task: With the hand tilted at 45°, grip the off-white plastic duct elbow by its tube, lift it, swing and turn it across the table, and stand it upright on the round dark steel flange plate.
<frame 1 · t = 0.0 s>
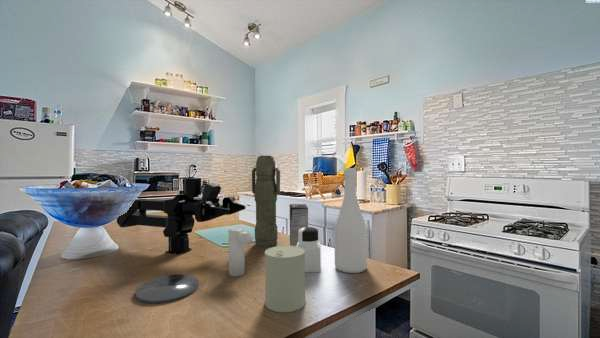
hand: (237, 209, 93), 17 cm above the table, tool horizontal, fingers open, 9 cm apart
flange plate: (168, 289, 70), on the table
medicine bottle: (308, 268, 84), on the table
can: (285, 303, 63), on the table
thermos: (266, 245, 111), on the table
wine bottle: (350, 268, 84), on the table
coffee box: (298, 249, 105), on the table
duct elbow: (236, 273, 80), on the table
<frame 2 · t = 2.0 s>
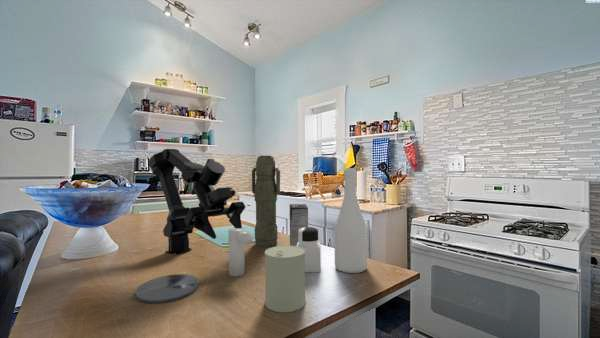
hand: (228, 234, 83), 11 cm above the table, tool tilted 45°, fingers open, 9 cm apart
nothing on the table moved.
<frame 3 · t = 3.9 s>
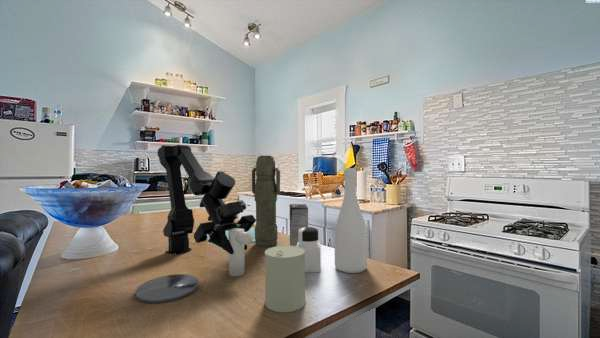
hand: (239, 251, 79), 7 cm above the table, tool tilted 45°, fingers closed on duct elbow, 4 cm apart
duct elbow: (236, 273, 80), on the table, touching gripper
everything else where it was.
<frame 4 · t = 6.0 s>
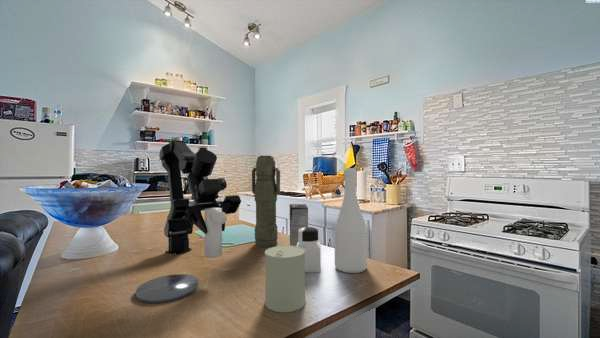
hand: (215, 231, 74), 13 cm above the table, tool tilted 45°, fingers closed on duct elbow, 4 cm apart
duct elbow: (213, 255, 75), point 7 cm above the table, touching gripper
everything else where it was.
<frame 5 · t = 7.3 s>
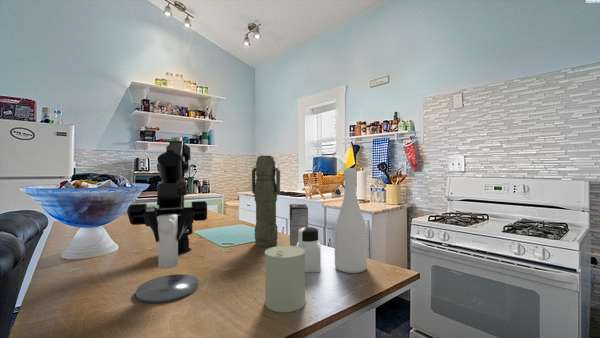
hand: (167, 240, 69), 13 cm above the table, tool tilted 45°, fingers closed on duct elbow, 4 cm apart
duct elbow: (168, 265, 70), point 6 cm above the table, touching gripper
everything else where it was.
when the fingers open (9 cm above the table, at t = 8.3 s): duct elbow drops 1 cm, resting on flange plate.
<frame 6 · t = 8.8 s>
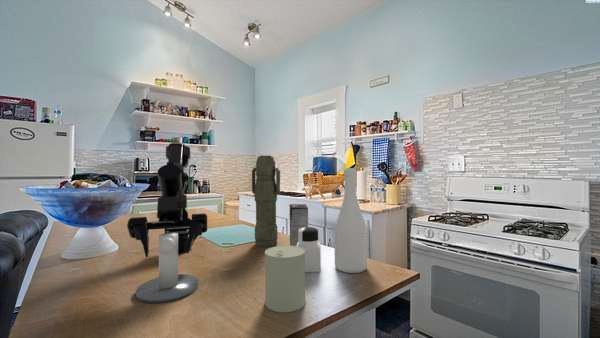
hand: (167, 254, 68), 9 cm above the table, tool tilted 45°, fingers open, 9 cm apart
duct elbow: (168, 284, 70), point 1 cm above the table, touching flange plate
everything else where it was.
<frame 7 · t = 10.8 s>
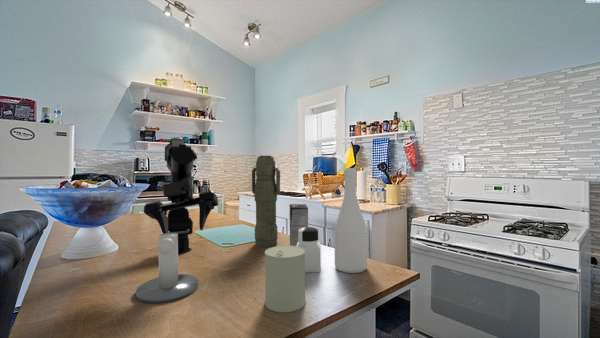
hand: (183, 233, 75), 13 cm above the table, tool tilted 30°, fingers open, 9 cm apart
nothing on the table moved.
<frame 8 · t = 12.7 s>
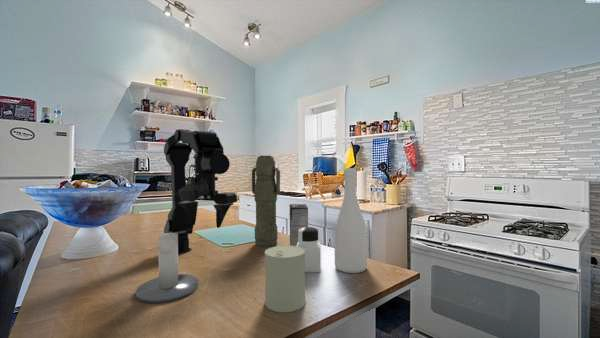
hand: (205, 226, 83), 13 cm above the table, tool pointing down, fingers open, 9 cm apart
nothing on the table moved.
at the end: duct elbow 0.1 cm off-centre on the flange plate, point 1.2 cm above the flange plate's base; duct elbow tilted 0°; the gripper is holding nothing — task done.
